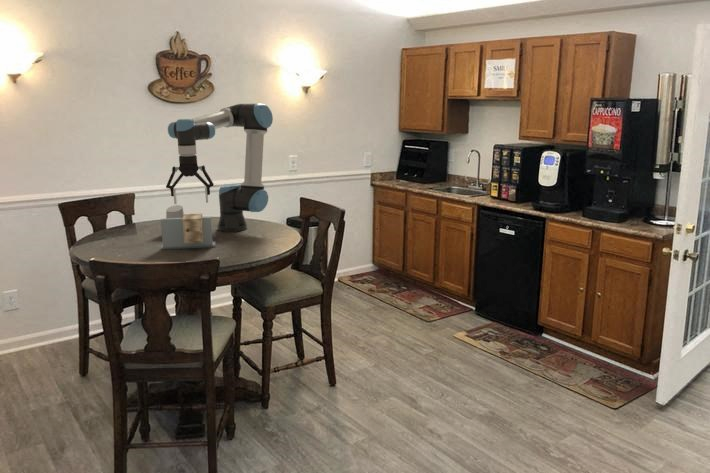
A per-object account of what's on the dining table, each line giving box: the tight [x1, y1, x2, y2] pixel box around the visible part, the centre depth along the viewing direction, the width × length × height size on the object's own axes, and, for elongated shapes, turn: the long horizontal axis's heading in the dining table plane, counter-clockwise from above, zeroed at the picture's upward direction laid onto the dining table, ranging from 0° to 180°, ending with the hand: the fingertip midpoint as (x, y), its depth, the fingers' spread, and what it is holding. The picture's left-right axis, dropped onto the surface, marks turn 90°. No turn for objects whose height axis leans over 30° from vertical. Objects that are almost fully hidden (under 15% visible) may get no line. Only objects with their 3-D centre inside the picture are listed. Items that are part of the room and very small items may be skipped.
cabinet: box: [182, 213, 203, 243], centre depth 265 cm, size 8×11×11 cm
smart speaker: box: [165, 204, 185, 219], centre depth 296 cm, size 10×9×14 cm
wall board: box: [160, 216, 216, 251], centre depth 270 cm, size 24×6×14 cm, turn 102°
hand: (191, 202), depth 261 cm, fingers open, 13 cm apart
